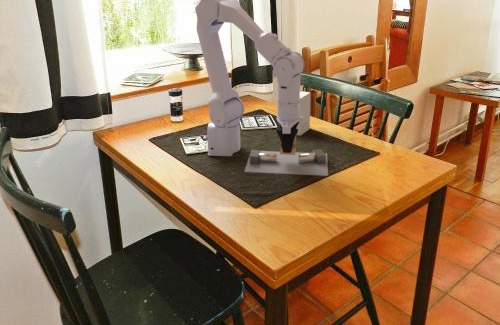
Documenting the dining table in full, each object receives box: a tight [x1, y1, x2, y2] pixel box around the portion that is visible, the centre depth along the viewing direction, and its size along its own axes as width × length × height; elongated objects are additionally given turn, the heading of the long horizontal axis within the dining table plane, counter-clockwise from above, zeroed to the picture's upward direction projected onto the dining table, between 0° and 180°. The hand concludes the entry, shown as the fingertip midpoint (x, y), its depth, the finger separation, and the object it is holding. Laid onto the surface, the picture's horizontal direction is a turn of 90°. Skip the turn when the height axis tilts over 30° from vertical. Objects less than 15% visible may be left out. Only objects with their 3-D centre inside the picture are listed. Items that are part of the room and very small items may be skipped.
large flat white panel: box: [243, 150, 329, 177], centre depth 125 cm, size 22×14×1 cm, turn 82°
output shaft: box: [297, 148, 326, 164], centre depth 125 cm, size 7×4×3 cm, turn 102°
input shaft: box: [249, 149, 277, 164], centre depth 125 cm, size 7×4×3 cm, turn 82°
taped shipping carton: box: [279, 135, 297, 155], centre depth 122 cm, size 4×4×5 cm
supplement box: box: [296, 90, 312, 136], centre depth 147 cm, size 7×7×13 cm
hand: (287, 148), depth 123 cm, fingers closed on taped shipping carton, 4 cm apart
